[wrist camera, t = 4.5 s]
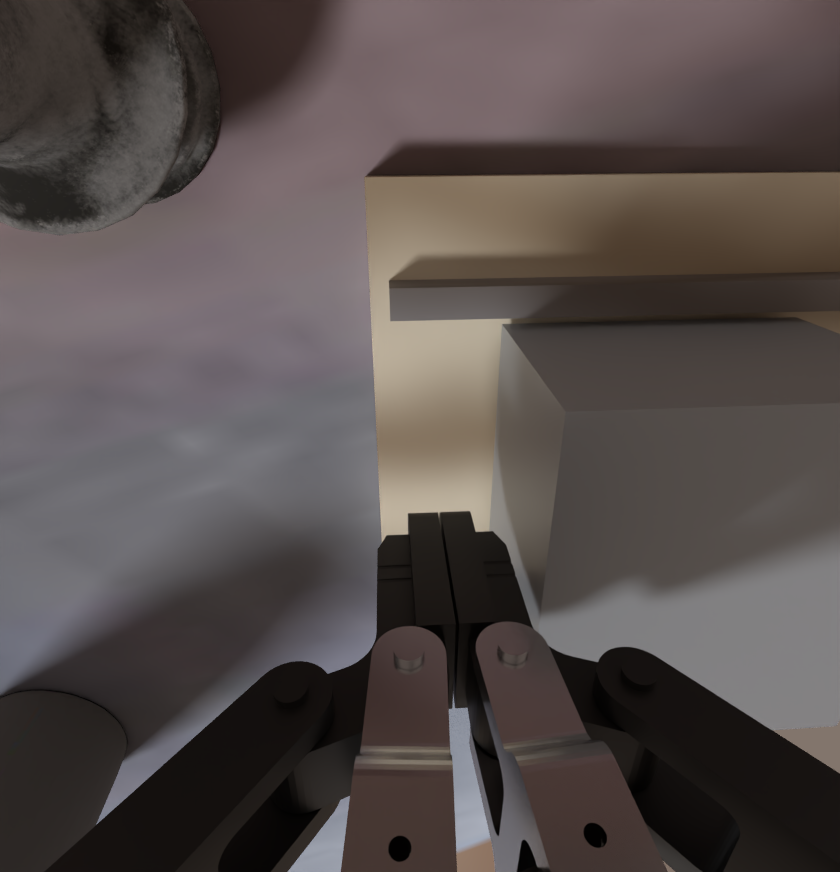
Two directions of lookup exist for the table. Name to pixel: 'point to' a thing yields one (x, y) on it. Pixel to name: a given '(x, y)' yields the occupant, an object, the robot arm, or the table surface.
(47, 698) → the bottle
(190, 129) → the salt shaker
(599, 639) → the cover
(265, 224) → the table surface
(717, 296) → the board
